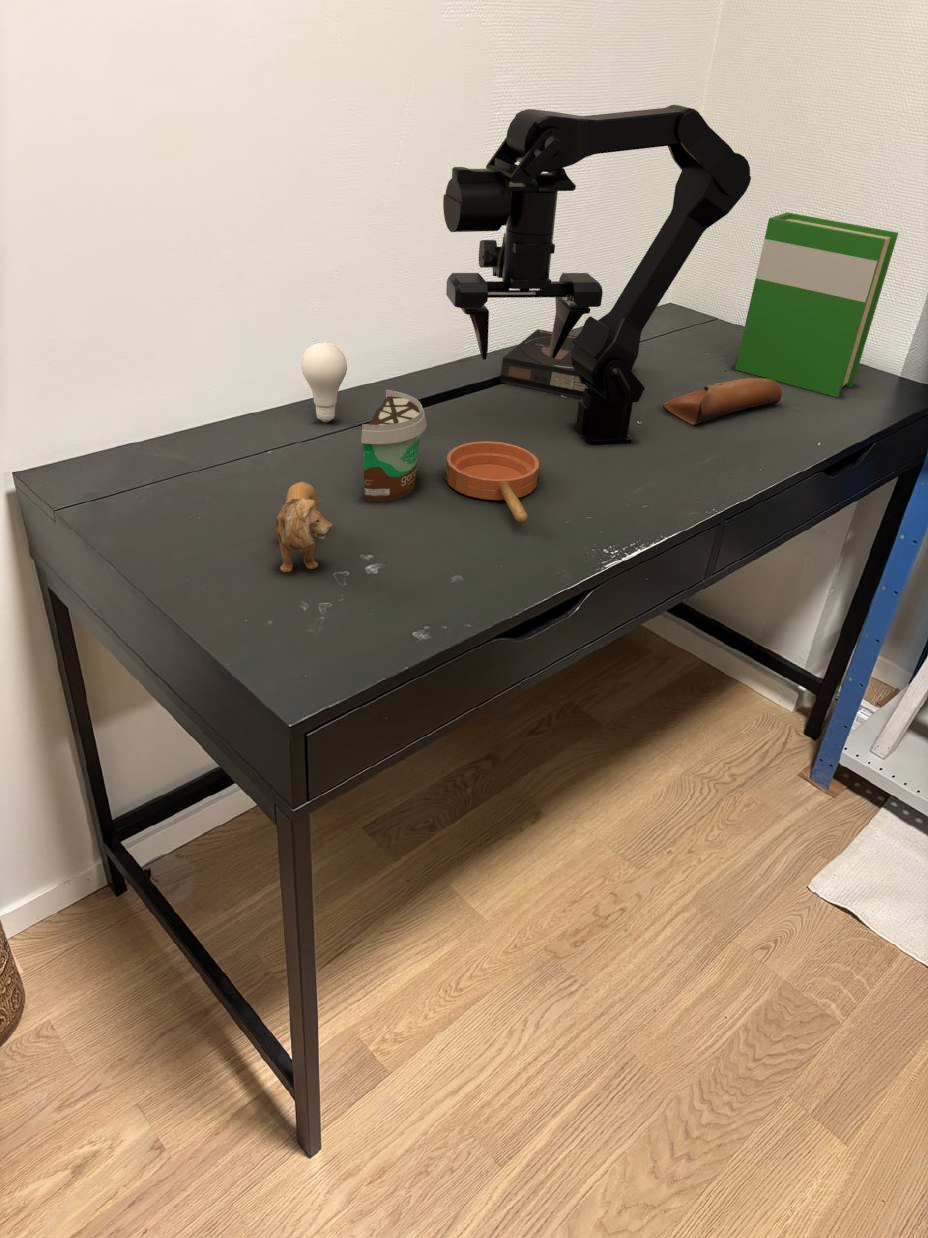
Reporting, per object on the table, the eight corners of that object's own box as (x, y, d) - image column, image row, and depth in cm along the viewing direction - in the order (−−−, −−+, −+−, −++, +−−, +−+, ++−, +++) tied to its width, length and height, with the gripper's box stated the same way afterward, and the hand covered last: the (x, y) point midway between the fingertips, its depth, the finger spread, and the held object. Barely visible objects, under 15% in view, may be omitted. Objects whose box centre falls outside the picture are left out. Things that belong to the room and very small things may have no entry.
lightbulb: (355, 417, 133) (354, 340, 127) (336, 433, 128) (334, 353, 122) (315, 410, 134) (313, 333, 128) (295, 425, 130) (292, 346, 123)
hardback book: (852, 385, 156) (898, 232, 143) (837, 397, 151) (883, 239, 138) (752, 359, 164) (787, 212, 151) (735, 369, 159) (769, 218, 146)
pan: (522, 460, 124) (524, 439, 123) (547, 500, 115) (550, 478, 113) (437, 464, 122) (438, 443, 120) (456, 505, 113) (457, 482, 111)
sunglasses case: (738, 385, 151) (763, 356, 146) (762, 419, 149) (789, 392, 144) (658, 405, 142) (682, 375, 137) (683, 442, 140) (708, 413, 135)
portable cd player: (499, 383, 148) (501, 358, 145) (535, 352, 161) (537, 329, 159) (600, 403, 143) (604, 378, 141) (628, 370, 156) (632, 346, 154)
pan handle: (508, 489, 114) (508, 478, 113) (528, 525, 107) (529, 514, 106) (496, 489, 113) (497, 479, 113) (516, 525, 106) (517, 514, 105)
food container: (412, 512, 111) (414, 432, 105) (361, 505, 111) (361, 426, 106) (433, 468, 121) (436, 393, 115) (386, 462, 121) (387, 387, 116)
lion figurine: (334, 586, 96) (332, 508, 91) (281, 590, 95) (277, 511, 90) (318, 518, 108) (316, 445, 103) (271, 521, 107) (266, 447, 102)
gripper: (582, 216, 121) (567, 336, 130) (440, 214, 117) (435, 338, 126) (612, 236, 112) (594, 364, 121) (459, 235, 108) (452, 367, 117)
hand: (518, 357), depth 122 cm, fingers open, 9 cm apart
